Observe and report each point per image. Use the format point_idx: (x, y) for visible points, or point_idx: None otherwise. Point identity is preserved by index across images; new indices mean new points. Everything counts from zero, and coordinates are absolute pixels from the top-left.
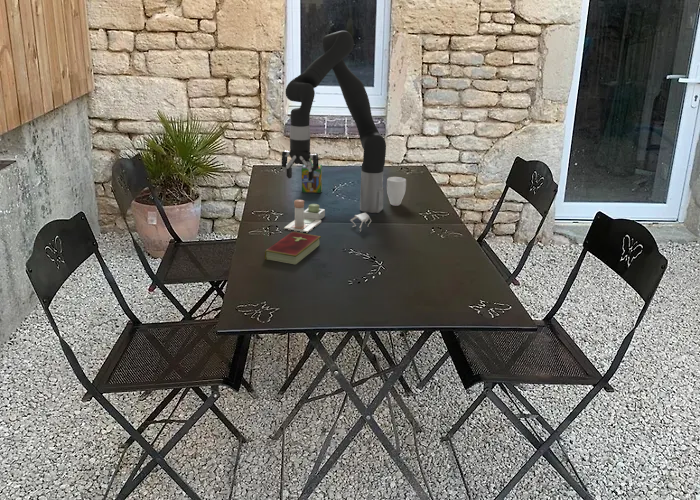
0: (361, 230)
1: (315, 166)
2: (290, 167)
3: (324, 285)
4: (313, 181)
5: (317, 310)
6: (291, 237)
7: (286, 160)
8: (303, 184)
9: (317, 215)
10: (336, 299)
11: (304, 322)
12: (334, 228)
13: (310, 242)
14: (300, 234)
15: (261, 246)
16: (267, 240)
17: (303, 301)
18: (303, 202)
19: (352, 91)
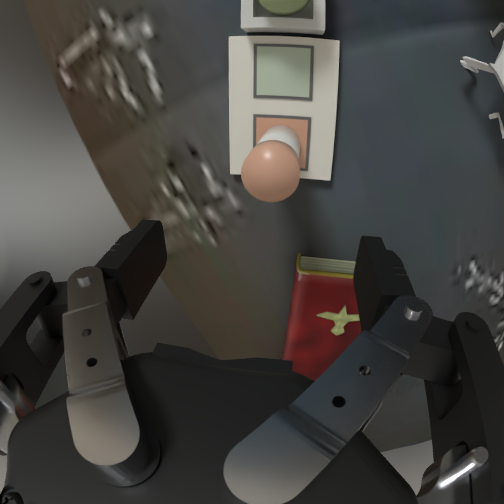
0: (498, 116)
1: (453, 403)
2: (114, 296)
3: (409, 402)
4: None
5: (399, 436)
6: (314, 312)
7: (27, 325)
8: None
9: (319, 30)
10: (423, 418)
11: (385, 448)
12: (409, 98)
13: None
14: (335, 285)
15: (237, 313)
16: (230, 275)
17: (381, 430)
18: (299, 179)
19: None
